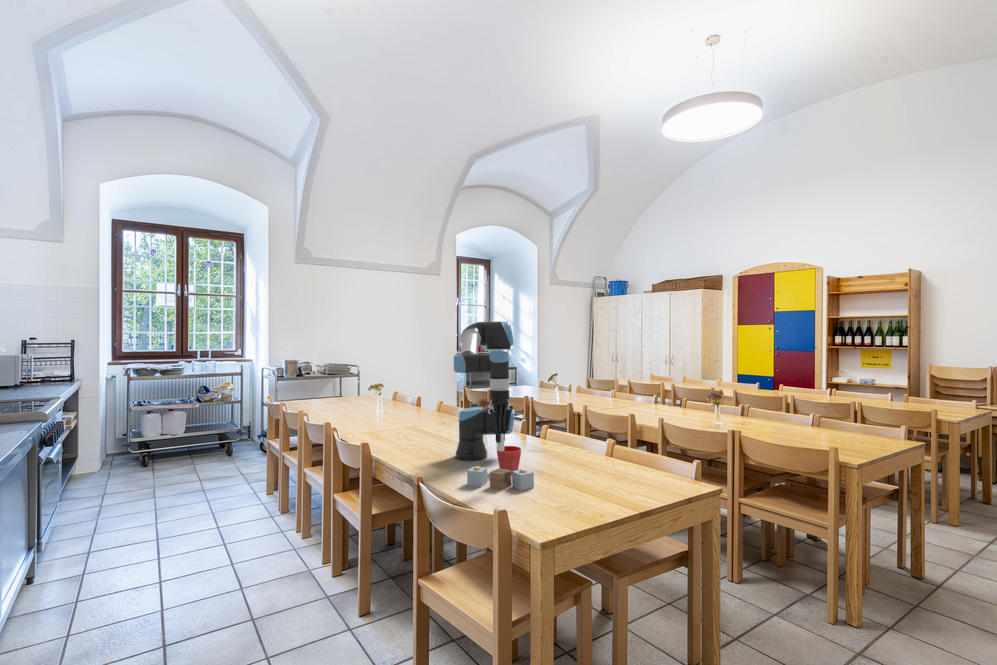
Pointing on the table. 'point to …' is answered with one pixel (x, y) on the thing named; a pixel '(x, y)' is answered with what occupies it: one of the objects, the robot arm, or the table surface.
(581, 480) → the table surface
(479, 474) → the stud block
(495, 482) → the walnut block
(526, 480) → the stud block
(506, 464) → the flower pot
